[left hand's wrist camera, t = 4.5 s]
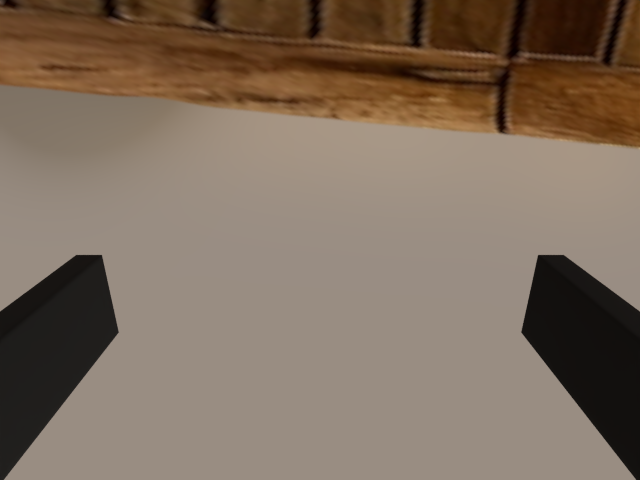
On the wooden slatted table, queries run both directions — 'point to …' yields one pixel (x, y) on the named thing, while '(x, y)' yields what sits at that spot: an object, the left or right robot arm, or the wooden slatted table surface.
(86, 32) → the wooden slatted table surface
